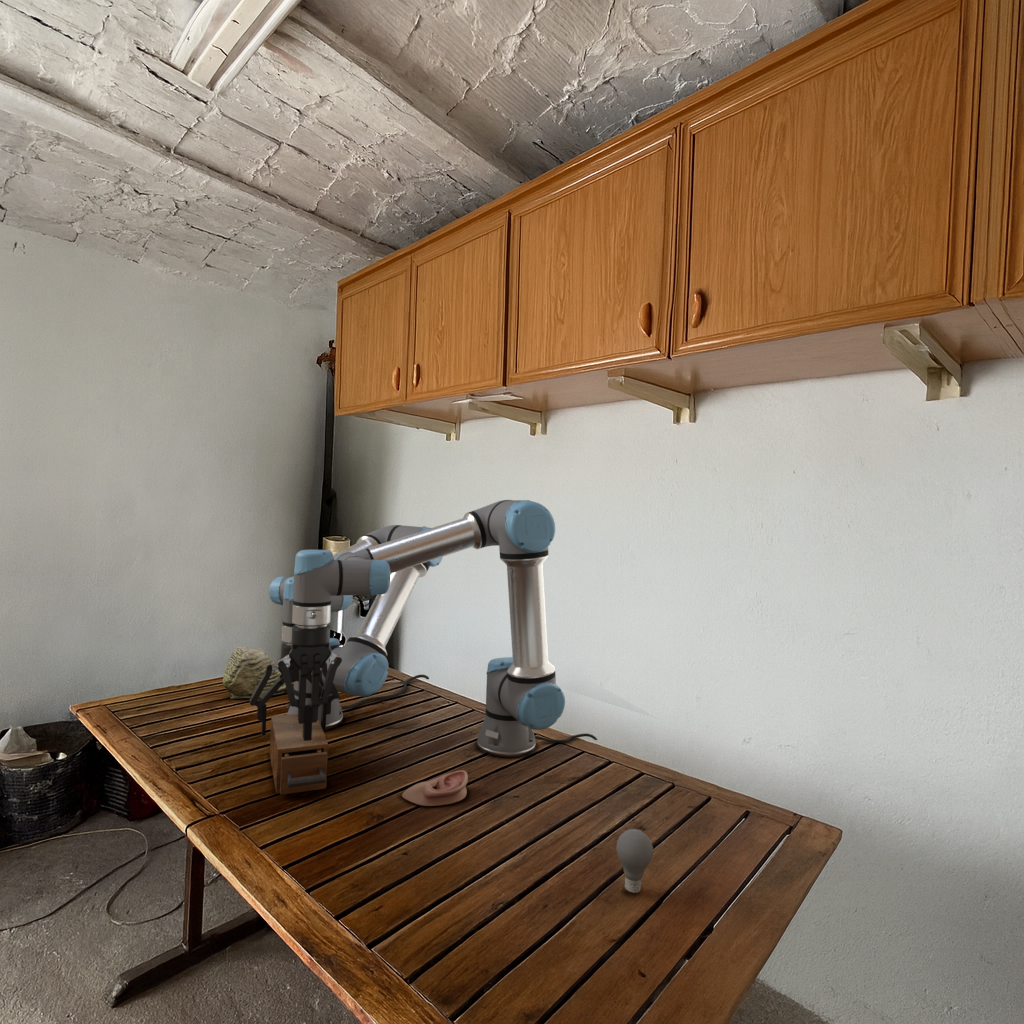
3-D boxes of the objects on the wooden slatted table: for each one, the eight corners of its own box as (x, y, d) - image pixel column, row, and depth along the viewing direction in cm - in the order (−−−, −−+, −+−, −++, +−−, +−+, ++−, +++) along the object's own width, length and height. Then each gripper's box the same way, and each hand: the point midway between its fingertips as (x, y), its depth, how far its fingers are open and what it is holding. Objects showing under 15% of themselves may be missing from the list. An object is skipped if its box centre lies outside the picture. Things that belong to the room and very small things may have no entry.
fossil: (218, 695, 195) (220, 647, 195) (278, 685, 208) (279, 640, 207) (228, 703, 189) (230, 653, 188) (289, 692, 201) (290, 645, 201)
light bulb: (610, 879, 108) (613, 822, 108) (644, 879, 109) (647, 822, 109) (619, 902, 102) (622, 840, 102) (655, 901, 103) (658, 840, 103)
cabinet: (326, 786, 139) (328, 743, 138) (276, 793, 134) (277, 749, 134) (314, 749, 158) (315, 711, 158) (269, 754, 154) (271, 715, 154)
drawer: (329, 800, 131) (331, 763, 130) (282, 807, 127) (283, 769, 127) (313, 752, 154) (315, 721, 154) (273, 757, 150) (274, 725, 150)
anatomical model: (397, 783, 132) (416, 761, 144) (396, 802, 132) (415, 779, 144) (458, 792, 130) (472, 769, 141) (457, 811, 130) (471, 786, 141)
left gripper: (241, 648, 143) (237, 741, 143) (353, 643, 153) (349, 730, 153) (241, 641, 150) (236, 730, 150) (348, 637, 160) (344, 720, 160)
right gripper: (279, 629, 125) (274, 748, 125) (346, 627, 130) (342, 741, 130) (276, 622, 131) (272, 735, 132) (340, 620, 137) (336, 728, 137)
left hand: (293, 730), depth 152 cm, fingers open, 13 cm apart
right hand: (306, 738), depth 131 cm, fingers closed
